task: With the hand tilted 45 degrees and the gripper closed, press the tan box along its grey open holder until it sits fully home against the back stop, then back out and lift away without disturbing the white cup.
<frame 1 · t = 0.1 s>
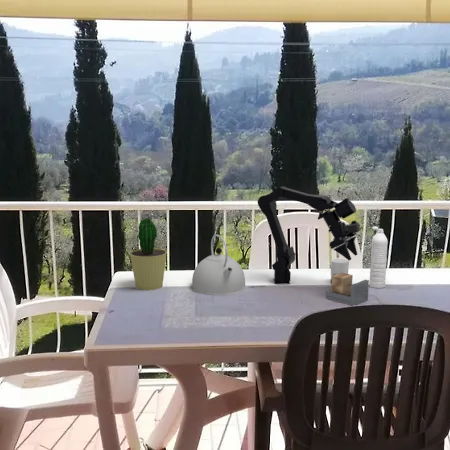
hand: (353, 257, 224), 15 cm above the table, tool tilted 35°, fingers open, 9 cm apart
water bottle: (375, 285, 237), on the table
potted cactus: (149, 286, 235), on the table
white cup: (338, 283, 241), on the table
grey open holder: (351, 300, 217), on the table
tan box: (340, 284, 220), point 5 cm above the table, slide at 4.5 cm
kettle: (219, 288, 233), on the table
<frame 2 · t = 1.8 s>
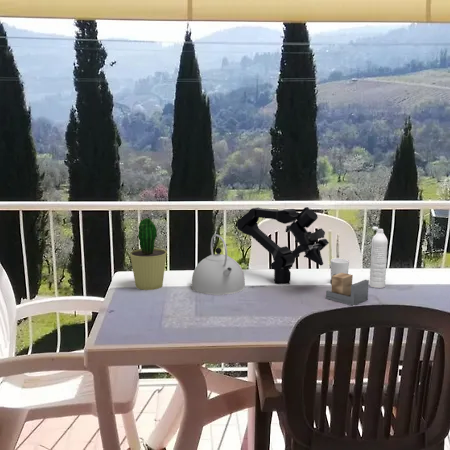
hand: (322, 264, 225), 12 cm above the table, tool tilted 45°, fingers closed
nothing on the table moved.
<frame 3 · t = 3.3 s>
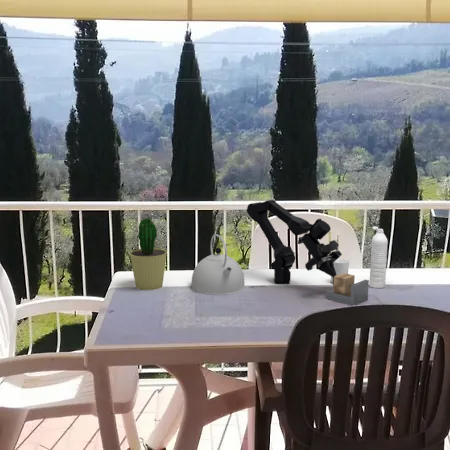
hand: (335, 277, 221), 8 cm above the table, tool tilted 45°, fingers closed, pressing on tan box
tan box: (342, 285, 219), point 5 cm above the table, slide at 3.6 cm, touching gripper
everything else where it was.
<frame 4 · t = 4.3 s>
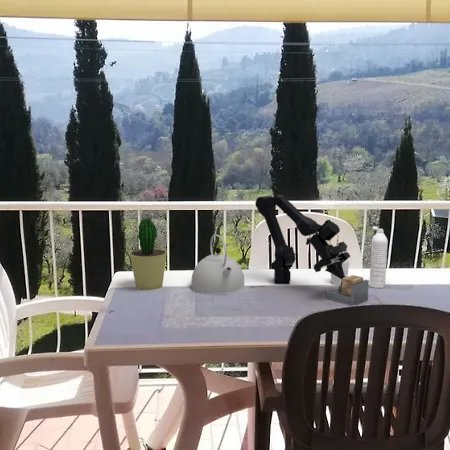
hand: (344, 279, 218), 8 cm above the table, tool tilted 45°, fingers closed, pressing on tan box
tan box: (351, 287, 216), point 5 cm above the table, slide at -0.3 cm, touching gripper, grey open holder
everything else where it was.
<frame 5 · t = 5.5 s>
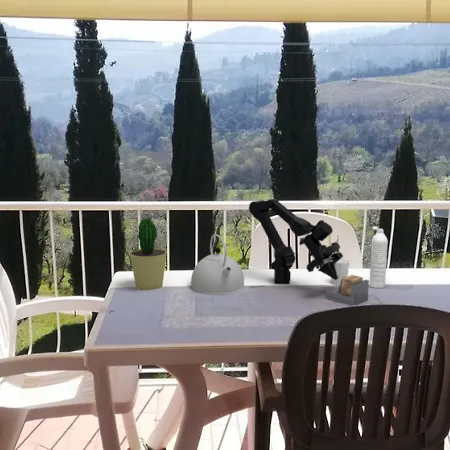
hand: (336, 279, 221), 7 cm above the table, tool tilted 45°, fingers closed
tan box: (350, 287, 217), point 5 cm above the table, slide at 0.0 cm
everything else where it was.
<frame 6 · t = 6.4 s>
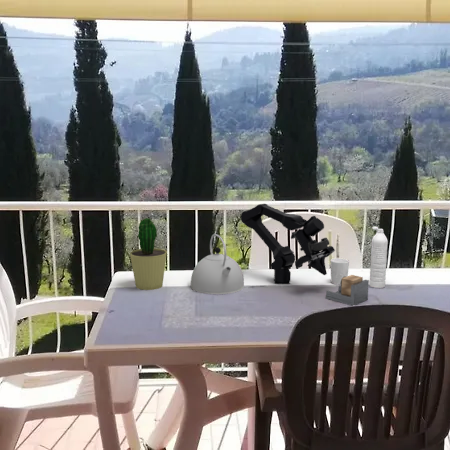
hand: (325, 274, 224), 8 cm above the table, tool tilted 40°, fingers closed
nothing on the table moved.
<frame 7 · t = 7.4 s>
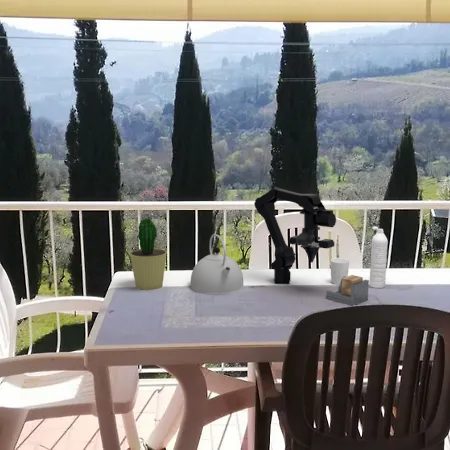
hand: (311, 262, 228), 12 cm above the table, tool pointing down, fingers closed
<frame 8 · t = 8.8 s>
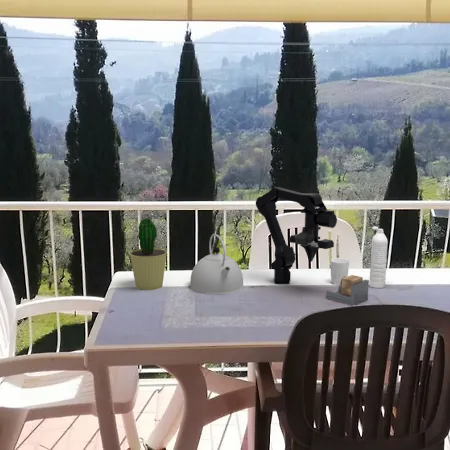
hand: (310, 261, 229), 12 cm above the table, tool pointing down, fingers closed
at the end: tan box slide at 0.0 cm; white cup moved 0.2 cm from its start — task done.
